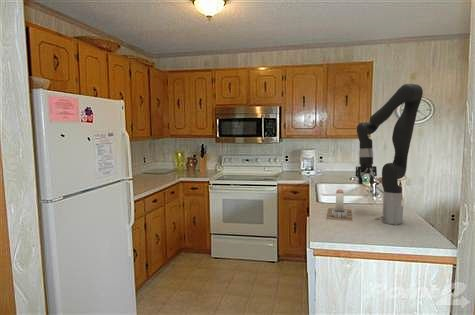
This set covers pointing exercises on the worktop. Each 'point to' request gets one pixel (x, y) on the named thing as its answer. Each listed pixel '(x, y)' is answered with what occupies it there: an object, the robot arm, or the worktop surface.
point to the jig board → (348, 218)
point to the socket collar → (339, 213)
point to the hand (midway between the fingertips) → (366, 184)
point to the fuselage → (339, 199)
